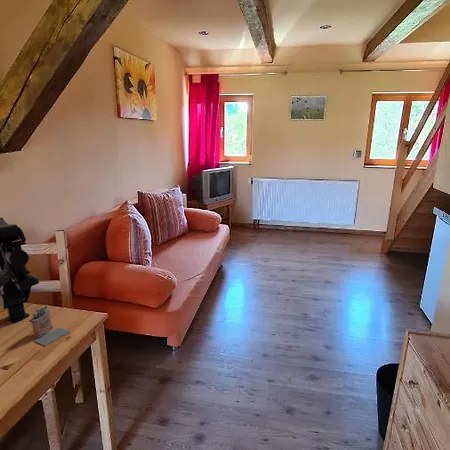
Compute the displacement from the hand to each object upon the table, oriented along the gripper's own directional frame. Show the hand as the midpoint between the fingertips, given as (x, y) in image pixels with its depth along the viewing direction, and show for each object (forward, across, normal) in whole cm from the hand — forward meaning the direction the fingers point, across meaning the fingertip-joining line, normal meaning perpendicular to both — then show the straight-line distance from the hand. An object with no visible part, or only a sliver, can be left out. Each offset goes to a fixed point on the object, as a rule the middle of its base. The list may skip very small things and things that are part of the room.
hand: (27, 297), depth 127 cm
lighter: (+13, +6, 0) cm, 15 cm away
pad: (+13, +12, +1) cm, 18 cm away
